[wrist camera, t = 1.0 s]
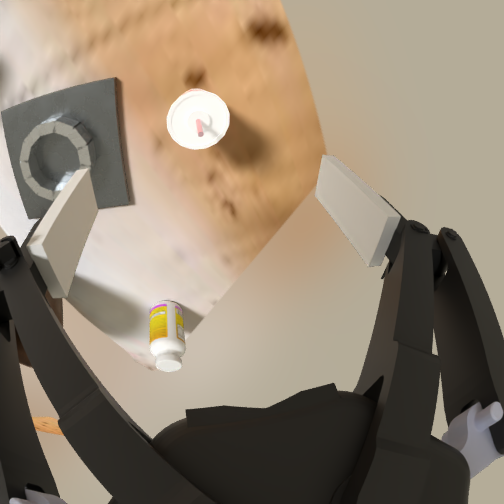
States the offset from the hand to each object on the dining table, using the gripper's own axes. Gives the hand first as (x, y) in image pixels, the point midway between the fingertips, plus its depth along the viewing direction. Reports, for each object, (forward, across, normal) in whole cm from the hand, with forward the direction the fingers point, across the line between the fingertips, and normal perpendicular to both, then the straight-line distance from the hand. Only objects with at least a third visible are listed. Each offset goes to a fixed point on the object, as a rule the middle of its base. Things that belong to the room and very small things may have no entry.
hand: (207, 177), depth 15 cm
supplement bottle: (+23, -8, -38) cm, 45 cm away
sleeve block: (+22, -19, -4) cm, 29 cm away
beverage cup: (+22, 0, 0) cm, 22 cm away
